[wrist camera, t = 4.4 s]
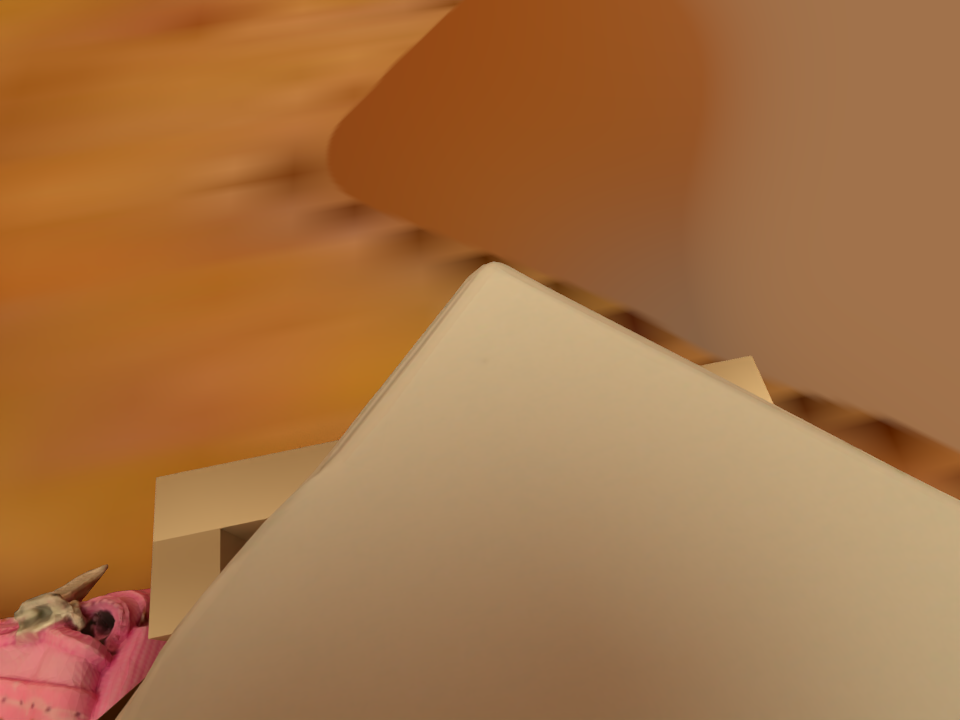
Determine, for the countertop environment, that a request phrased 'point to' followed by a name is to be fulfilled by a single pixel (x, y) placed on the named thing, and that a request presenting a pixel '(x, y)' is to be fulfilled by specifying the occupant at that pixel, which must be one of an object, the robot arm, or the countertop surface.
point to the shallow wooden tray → (256, 512)
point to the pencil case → (74, 652)
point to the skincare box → (576, 550)
